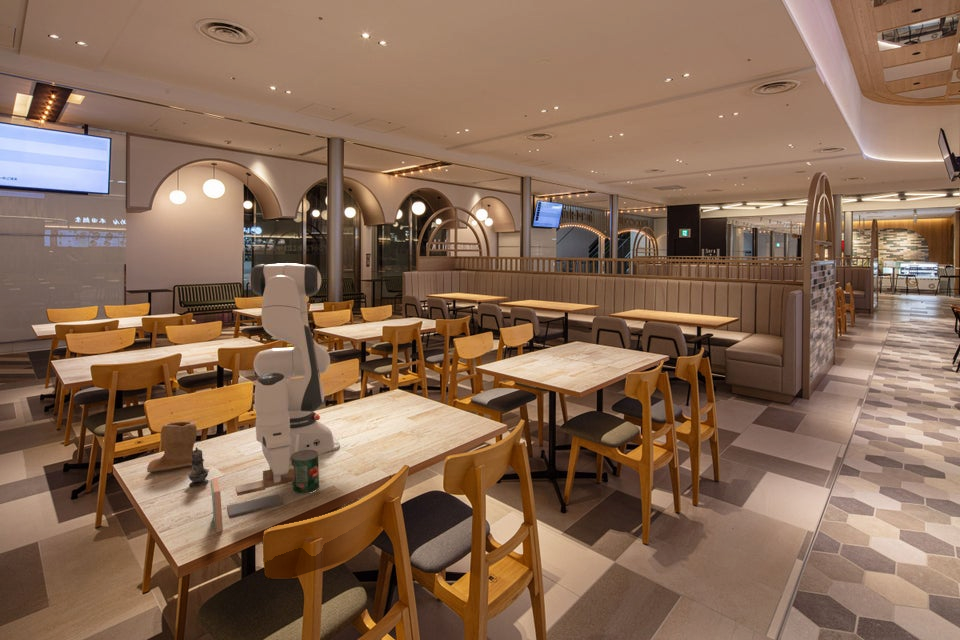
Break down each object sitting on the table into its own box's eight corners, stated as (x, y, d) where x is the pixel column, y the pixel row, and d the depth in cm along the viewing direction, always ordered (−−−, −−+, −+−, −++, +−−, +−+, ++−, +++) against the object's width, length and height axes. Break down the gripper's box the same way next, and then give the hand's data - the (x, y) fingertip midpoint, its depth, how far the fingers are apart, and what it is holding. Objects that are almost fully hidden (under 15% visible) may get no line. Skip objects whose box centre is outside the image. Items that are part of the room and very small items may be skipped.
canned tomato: (321, 490, 150) (320, 456, 149) (294, 496, 146) (293, 461, 145) (316, 480, 157) (315, 447, 156) (290, 485, 153) (289, 452, 152)
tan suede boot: (201, 455, 176) (198, 415, 174) (200, 468, 165) (198, 425, 163) (150, 463, 168) (147, 421, 166) (147, 477, 158) (143, 433, 156)
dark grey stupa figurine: (190, 480, 156) (187, 444, 154) (210, 478, 158) (208, 442, 156) (186, 488, 150) (183, 451, 149) (207, 486, 152) (205, 449, 151)
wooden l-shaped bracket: (292, 476, 143) (291, 463, 142) (295, 482, 139) (295, 469, 139) (235, 489, 135) (234, 475, 134) (237, 495, 131) (236, 481, 131)
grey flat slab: (279, 495, 147) (279, 493, 147) (283, 504, 142) (283, 502, 142) (227, 507, 139) (227, 505, 139) (229, 517, 134) (229, 515, 134)
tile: (219, 514, 136) (217, 477, 134) (222, 530, 128) (220, 490, 127) (213, 516, 135) (210, 478, 133) (215, 532, 127) (213, 492, 126)
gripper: (255, 423, 144) (257, 467, 145) (267, 445, 126) (269, 495, 128) (278, 419, 147) (280, 463, 149) (292, 440, 130) (294, 489, 132)
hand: (275, 478), depth 138 cm, fingers closed on wooden l-shaped bracket, 3 cm apart
